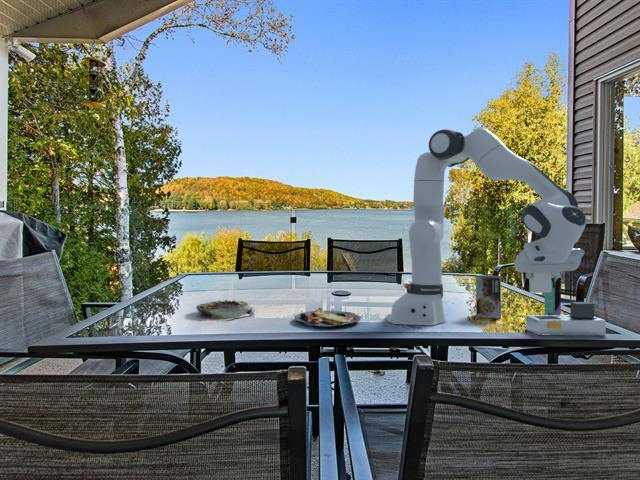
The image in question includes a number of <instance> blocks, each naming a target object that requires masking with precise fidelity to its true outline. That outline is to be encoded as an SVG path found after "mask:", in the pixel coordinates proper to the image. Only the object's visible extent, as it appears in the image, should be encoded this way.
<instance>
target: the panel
mask: <svg viewBox="0 0 640 480" xmlns="http://www.w3.org/2000/svg"><path fill="white" fill-rule="evenodd" d="M532 274H533V277H532V278H529V279H528V280H529V292H530V293H533V294H536V293H537V294H539V293H540V294H541V293H544V294H545V292H552V284H551V272H532Z"/></svg>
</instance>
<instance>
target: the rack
mask: <svg viewBox="0 0 640 480" xmlns="http://www.w3.org/2000/svg"><path fill="white" fill-rule="evenodd" d="M525 317H526V318H525V319H526V320H525V322H526V325H525V326H526V327H525V329H526V330H527V331H529V332H530V333H532V334H534V335H536V334H537V335H536V336H538V335H543V334H550V335H567V336H606V329H607V328H606V326H607V325H606V322H607V320H606V319H602V318H601V317H597V316H595V303H593V302H591V301H571V302H570V314H564V315H563V314H561V315H544V314H535V315H534V314H527V315H526V316H525Z"/></svg>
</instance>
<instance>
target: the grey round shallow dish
mask: <svg viewBox="0 0 640 480" xmlns="http://www.w3.org/2000/svg"><path fill="white" fill-rule="evenodd" d="M195 308H196V310H197V311H198V312H199V313H200V316H201V317H202V318H204V319H201V320H199V321H200V322H201V321H203V322H204V321H206V319H207V320H208V319H210V321H211V322H224V321H225V322H226V321H229V320H231V321H232V320H235V319H240V318H245V317H246V318H247V317H252V316H253V315H254V313H253V310H252V309H253V307H252V306H251V304H250V303H248V302H245V301H243V300H242V301H237V300H231V299H230V300H227V299H226V300H224V301H223V300H216V301H210V302H206V303H205V302H203V303H200V304H198V305H196V306H195Z"/></svg>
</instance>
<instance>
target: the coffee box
mask: <svg viewBox="0 0 640 480" xmlns="http://www.w3.org/2000/svg"><path fill="white" fill-rule="evenodd" d="M475 285H476V286H475V288H476V289H475V290H476V291H475V293H476V294H475V301H476V302H475V304H476V306H475V307H476V309H475V310H476V311H475V313H476V314H475V315H476V316H475V317H476V318H482V319H483V318H484V319H498V320H500V319H501V318H502V276H501V275H480V274H478V275H477V276H475Z"/></svg>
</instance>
